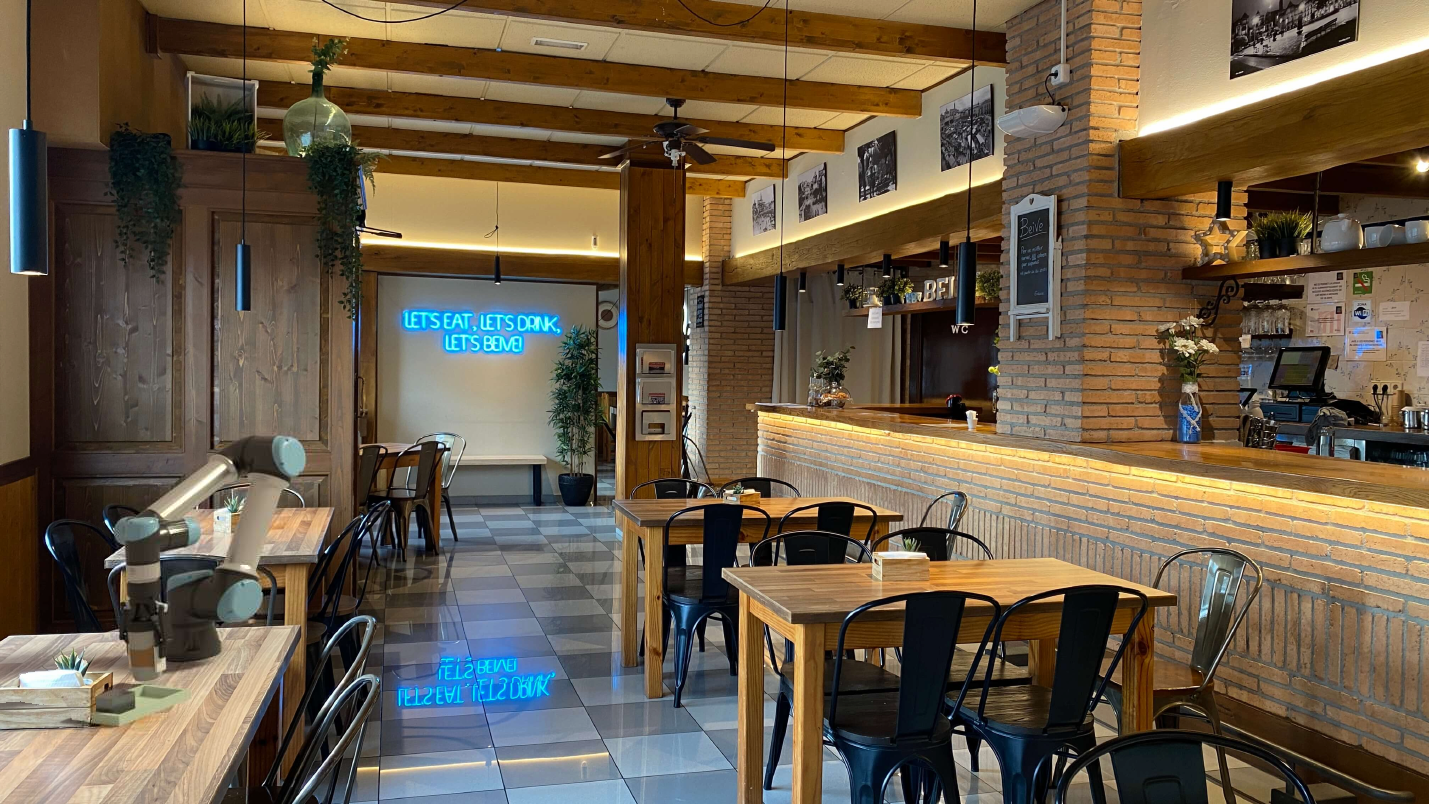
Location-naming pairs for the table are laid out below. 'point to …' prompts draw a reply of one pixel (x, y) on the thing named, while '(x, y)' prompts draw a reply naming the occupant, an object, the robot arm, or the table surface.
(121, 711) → the cube
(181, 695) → the green tray
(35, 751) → the table surface
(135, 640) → the coffee cup
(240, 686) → the table surface
